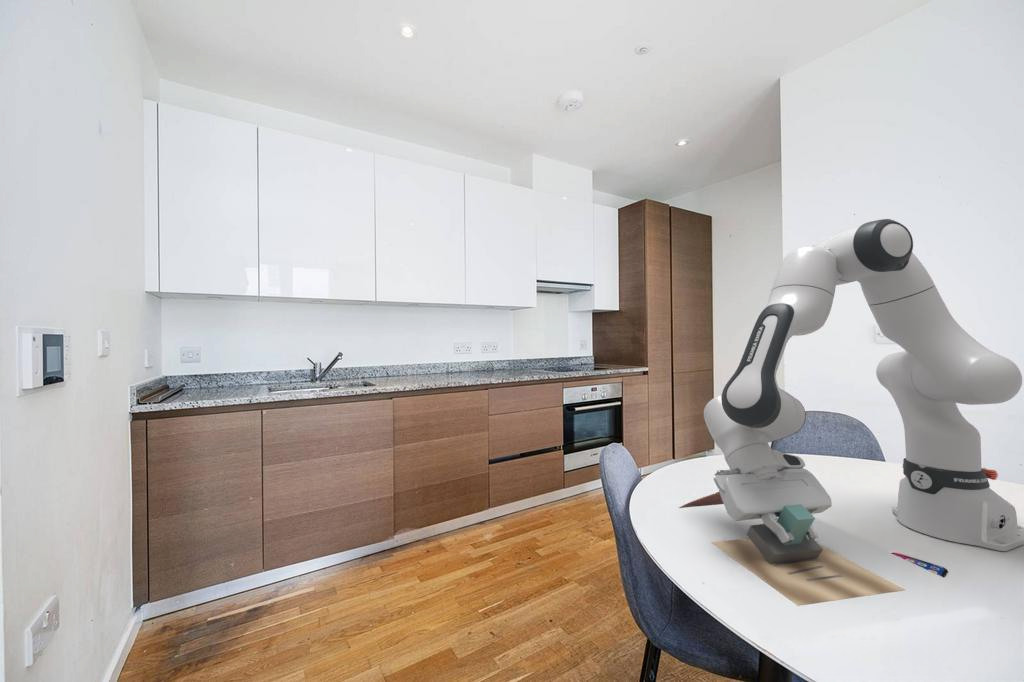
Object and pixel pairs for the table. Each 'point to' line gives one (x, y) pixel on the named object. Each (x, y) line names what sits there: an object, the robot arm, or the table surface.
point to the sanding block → (795, 550)
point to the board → (809, 574)
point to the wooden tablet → (705, 501)
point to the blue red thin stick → (924, 565)
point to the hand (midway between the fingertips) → (800, 540)
